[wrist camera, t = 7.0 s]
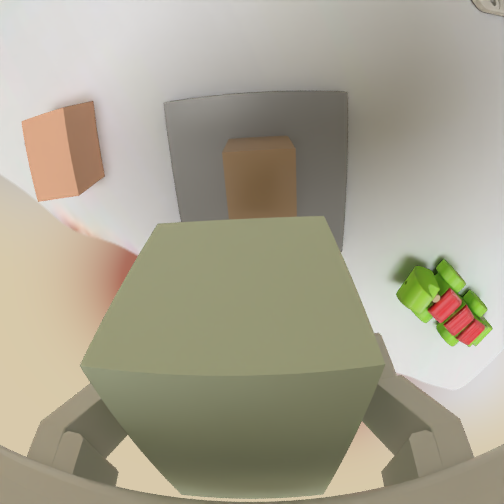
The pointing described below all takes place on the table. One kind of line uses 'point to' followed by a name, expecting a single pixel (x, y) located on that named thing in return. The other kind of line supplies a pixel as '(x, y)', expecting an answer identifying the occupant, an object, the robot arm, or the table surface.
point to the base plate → (261, 119)
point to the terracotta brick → (63, 151)
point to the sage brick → (238, 356)
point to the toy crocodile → (445, 304)
